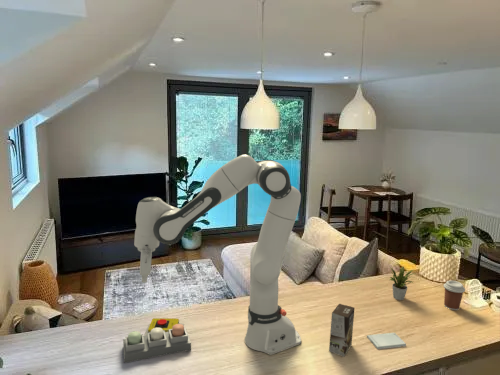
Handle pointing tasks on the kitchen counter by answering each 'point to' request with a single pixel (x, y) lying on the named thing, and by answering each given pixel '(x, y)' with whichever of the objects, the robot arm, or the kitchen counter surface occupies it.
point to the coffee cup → (453, 294)
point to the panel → (156, 346)
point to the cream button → (156, 334)
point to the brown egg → (178, 330)
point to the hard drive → (386, 340)
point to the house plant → (400, 283)
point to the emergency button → (162, 324)
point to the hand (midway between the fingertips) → (144, 276)
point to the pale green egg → (134, 338)
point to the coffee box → (341, 329)
